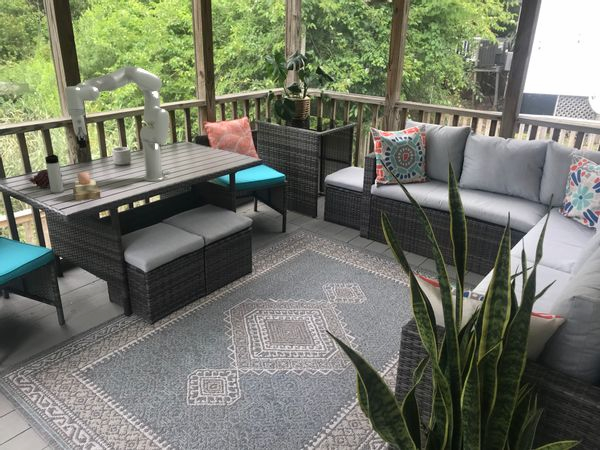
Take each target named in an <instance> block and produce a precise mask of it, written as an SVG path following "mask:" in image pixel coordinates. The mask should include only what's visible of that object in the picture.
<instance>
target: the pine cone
mask: <svg viewBox="0 0 600 450" xmlns="http://www.w3.org/2000/svg"><path fill="white" fill-rule="evenodd" d="M61 177H62V178H63V174H62V173H61ZM28 181H29V182H30V183H32V184H33V185H36V186H37V187H39V188H45V189H46V188H47V187H48V186H50V183H49V177H48V172H47V169H42V170H39V172H37V173H36V175H35V174H34V175H33V177H30V178H29V179H28Z"/></svg>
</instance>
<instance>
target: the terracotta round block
mask: <svg viewBox="0 0 600 450" xmlns="http://www.w3.org/2000/svg"><path fill="white" fill-rule="evenodd" d="M76 175H77V181H79V184H88V183H90V180H91V178H90V172H88V171H83V172H78V173H76Z"/></svg>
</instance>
